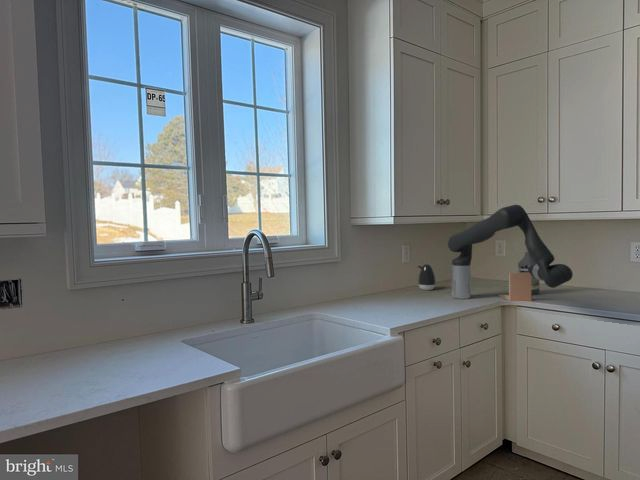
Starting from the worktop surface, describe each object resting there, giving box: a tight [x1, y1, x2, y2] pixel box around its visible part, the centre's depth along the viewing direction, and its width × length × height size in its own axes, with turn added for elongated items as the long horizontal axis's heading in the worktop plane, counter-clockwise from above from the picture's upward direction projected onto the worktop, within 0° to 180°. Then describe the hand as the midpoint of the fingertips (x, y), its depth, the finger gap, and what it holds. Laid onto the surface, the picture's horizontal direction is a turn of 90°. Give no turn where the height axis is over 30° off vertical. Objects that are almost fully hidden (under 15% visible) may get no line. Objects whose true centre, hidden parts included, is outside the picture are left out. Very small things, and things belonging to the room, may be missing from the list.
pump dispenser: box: [417, 263, 437, 291], centre depth 257 cm, size 10×10×15 cm
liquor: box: [517, 239, 540, 296], centre depth 237 cm, size 9×9×30 cm
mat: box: [497, 294, 534, 301], centre depth 226 cm, size 14×12×1 cm
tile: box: [508, 272, 532, 302], centre depth 218 cm, size 10×2×14 cm, turn 83°
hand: (527, 267), depth 206 cm, fingers closed
